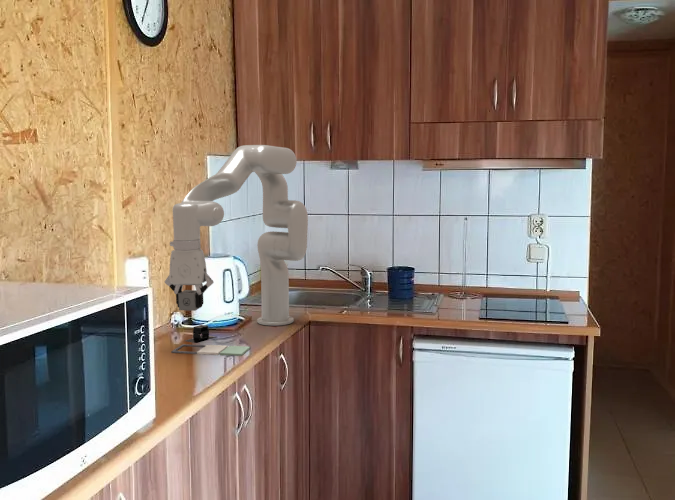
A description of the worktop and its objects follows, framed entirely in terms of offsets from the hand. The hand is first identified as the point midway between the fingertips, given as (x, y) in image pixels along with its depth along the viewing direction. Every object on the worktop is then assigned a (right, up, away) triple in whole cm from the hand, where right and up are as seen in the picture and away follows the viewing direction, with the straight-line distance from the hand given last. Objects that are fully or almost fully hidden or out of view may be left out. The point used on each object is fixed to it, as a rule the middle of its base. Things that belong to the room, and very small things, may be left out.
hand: (190, 306), depth 204 cm
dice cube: (0, -1, 0) cm, 1 cm away
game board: (+7, -13, 0) cm, 15 cm away
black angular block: (0, -12, +14) cm, 19 cm away
